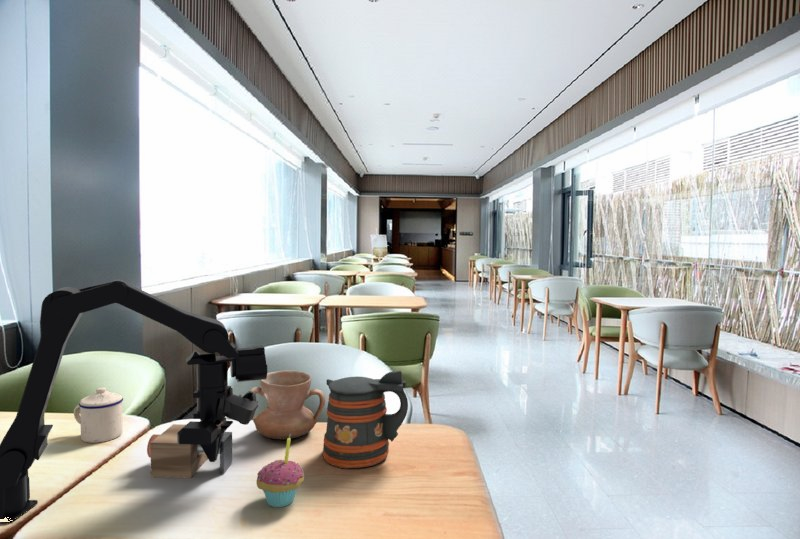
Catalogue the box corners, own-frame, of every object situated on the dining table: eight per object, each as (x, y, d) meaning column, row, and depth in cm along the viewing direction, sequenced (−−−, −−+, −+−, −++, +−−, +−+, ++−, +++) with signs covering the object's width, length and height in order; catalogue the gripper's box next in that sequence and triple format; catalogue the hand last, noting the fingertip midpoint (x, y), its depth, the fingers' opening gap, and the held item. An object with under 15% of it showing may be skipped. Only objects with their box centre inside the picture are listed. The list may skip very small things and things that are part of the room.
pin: (215, 462, 105) (215, 441, 104) (147, 461, 105) (146, 439, 104) (223, 453, 109) (223, 432, 109) (158, 452, 109) (157, 431, 109)
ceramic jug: (242, 444, 118) (243, 384, 117) (258, 421, 133) (259, 367, 132) (320, 446, 119) (321, 387, 118) (327, 423, 133) (328, 369, 132)
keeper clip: (223, 473, 104) (223, 441, 103) (197, 473, 104) (196, 440, 103) (232, 462, 109) (232, 431, 108) (206, 462, 109) (206, 431, 108)
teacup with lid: (132, 430, 126) (131, 384, 125) (104, 445, 117) (103, 395, 116) (90, 426, 128) (89, 380, 127) (59, 440, 119) (58, 391, 118)
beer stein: (412, 445, 119) (413, 361, 118) (402, 474, 105) (404, 379, 104) (333, 439, 122) (334, 357, 121) (313, 466, 108) (314, 373, 107)
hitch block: (190, 477, 102) (190, 443, 102) (150, 476, 102) (150, 442, 102) (209, 456, 112) (209, 425, 112) (173, 455, 112) (173, 424, 112)
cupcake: (285, 484, 100) (285, 424, 99) (314, 499, 94) (314, 436, 94) (247, 502, 93) (246, 438, 92) (275, 519, 88) (275, 451, 87)
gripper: (237, 400, 91) (237, 484, 92) (266, 372, 110) (266, 443, 111) (175, 399, 91) (176, 483, 92) (214, 371, 110) (215, 442, 111)
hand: (213, 461), depth 102 cm, fingers closed
